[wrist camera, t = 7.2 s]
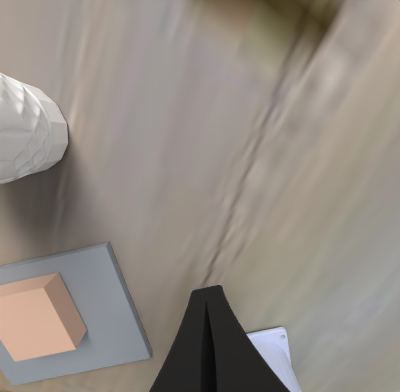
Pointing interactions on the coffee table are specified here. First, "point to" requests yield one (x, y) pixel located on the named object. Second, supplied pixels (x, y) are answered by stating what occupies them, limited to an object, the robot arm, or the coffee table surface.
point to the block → (38, 318)
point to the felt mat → (83, 315)
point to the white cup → (28, 130)
